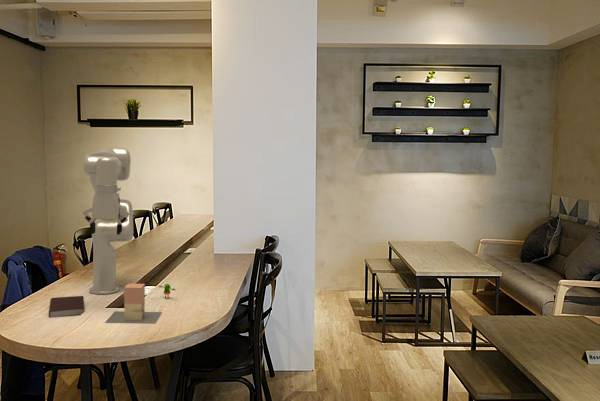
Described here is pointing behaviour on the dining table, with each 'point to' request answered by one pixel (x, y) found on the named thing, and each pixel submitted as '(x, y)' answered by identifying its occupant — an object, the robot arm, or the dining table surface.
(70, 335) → the dining table surface
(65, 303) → the book
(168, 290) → the toy character
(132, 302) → the terracotta block
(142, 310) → the maple block
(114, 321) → the plate
